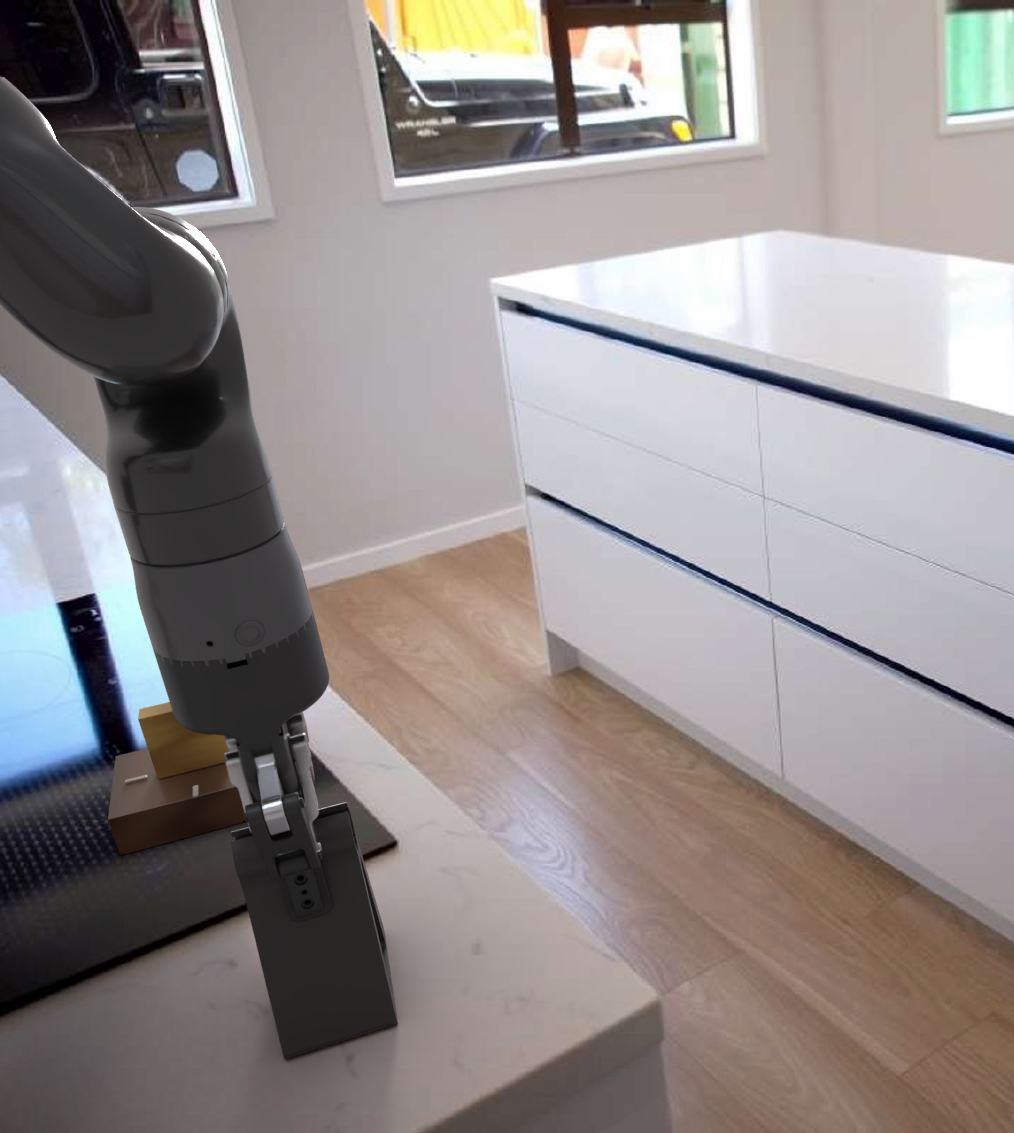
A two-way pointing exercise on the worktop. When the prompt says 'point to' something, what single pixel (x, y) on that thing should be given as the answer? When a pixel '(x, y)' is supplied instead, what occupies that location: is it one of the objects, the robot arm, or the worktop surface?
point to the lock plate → (168, 803)
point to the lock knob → (177, 743)
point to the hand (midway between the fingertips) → (310, 893)
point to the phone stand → (320, 944)
